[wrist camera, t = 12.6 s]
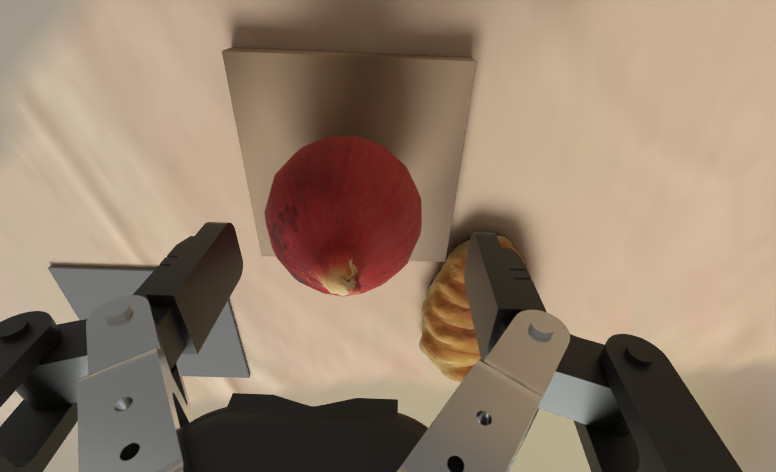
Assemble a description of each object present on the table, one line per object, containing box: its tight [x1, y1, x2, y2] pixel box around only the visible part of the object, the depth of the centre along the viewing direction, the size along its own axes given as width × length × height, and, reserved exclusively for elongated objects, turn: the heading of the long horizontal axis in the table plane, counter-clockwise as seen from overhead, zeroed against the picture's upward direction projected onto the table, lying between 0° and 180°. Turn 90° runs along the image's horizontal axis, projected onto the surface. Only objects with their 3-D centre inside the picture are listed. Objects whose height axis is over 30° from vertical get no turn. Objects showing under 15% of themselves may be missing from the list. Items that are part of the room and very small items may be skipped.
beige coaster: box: [222, 48, 477, 262], centre depth 18 cm, size 10×10×1 cm
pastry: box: [419, 236, 526, 382], centre depth 21 cm, size 9×7×4 cm
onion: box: [264, 135, 422, 296], centre depth 14 cm, size 6×6×8 cm
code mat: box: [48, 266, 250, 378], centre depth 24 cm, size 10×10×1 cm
